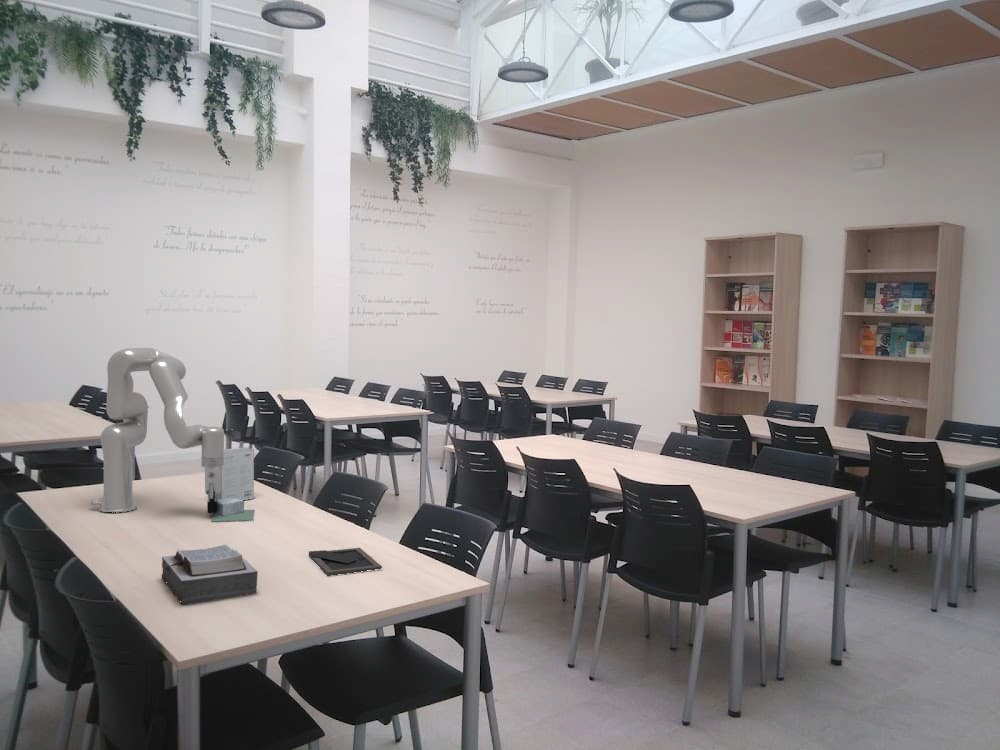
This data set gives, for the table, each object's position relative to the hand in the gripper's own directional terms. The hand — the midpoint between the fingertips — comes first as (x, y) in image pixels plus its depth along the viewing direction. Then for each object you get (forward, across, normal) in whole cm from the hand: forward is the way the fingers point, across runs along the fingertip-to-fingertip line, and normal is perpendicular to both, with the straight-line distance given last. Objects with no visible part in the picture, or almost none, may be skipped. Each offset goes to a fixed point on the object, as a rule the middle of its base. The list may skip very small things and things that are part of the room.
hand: (212, 512), depth 287 cm
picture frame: (+2, -63, -42) cm, 76 cm away
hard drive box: (+2, +26, -5) cm, 27 cm away
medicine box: (-1, +2, -1) cm, 3 cm away
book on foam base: (+2, -78, -5) cm, 78 cm away
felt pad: (+2, 0, -7) cm, 7 cm away
